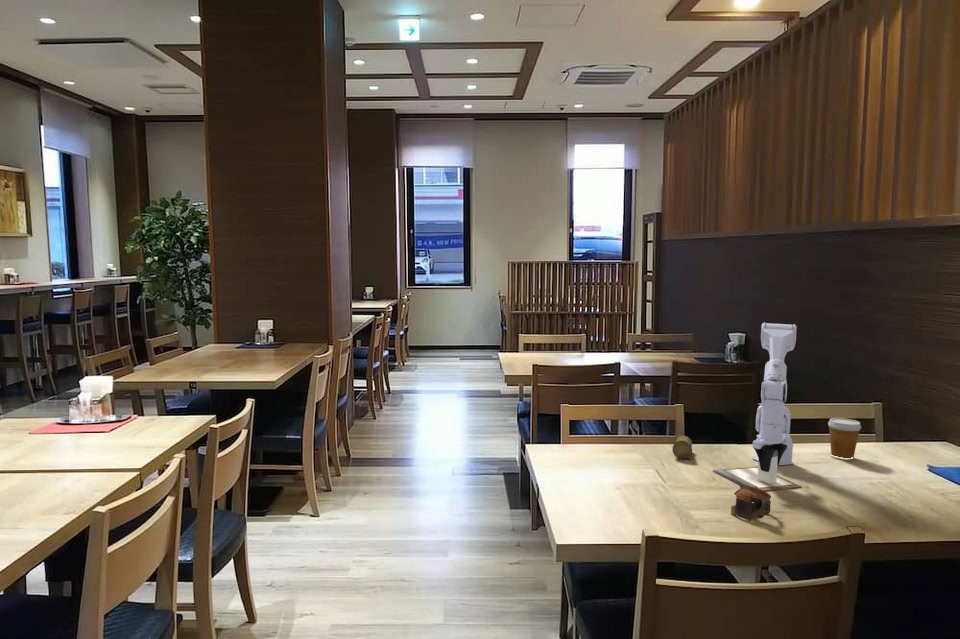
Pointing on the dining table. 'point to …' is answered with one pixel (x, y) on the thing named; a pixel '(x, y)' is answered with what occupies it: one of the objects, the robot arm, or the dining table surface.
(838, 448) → the disposable coffee cup
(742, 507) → the pottery mug
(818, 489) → the dining table surface
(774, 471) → the long rectangular beam
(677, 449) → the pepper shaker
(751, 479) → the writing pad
